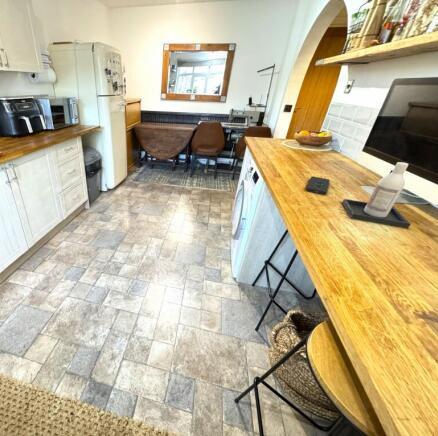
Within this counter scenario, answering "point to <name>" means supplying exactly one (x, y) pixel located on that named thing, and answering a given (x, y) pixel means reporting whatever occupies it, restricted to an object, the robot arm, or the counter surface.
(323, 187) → the smart home device
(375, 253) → the counter surface
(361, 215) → the tray
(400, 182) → the bath foam
